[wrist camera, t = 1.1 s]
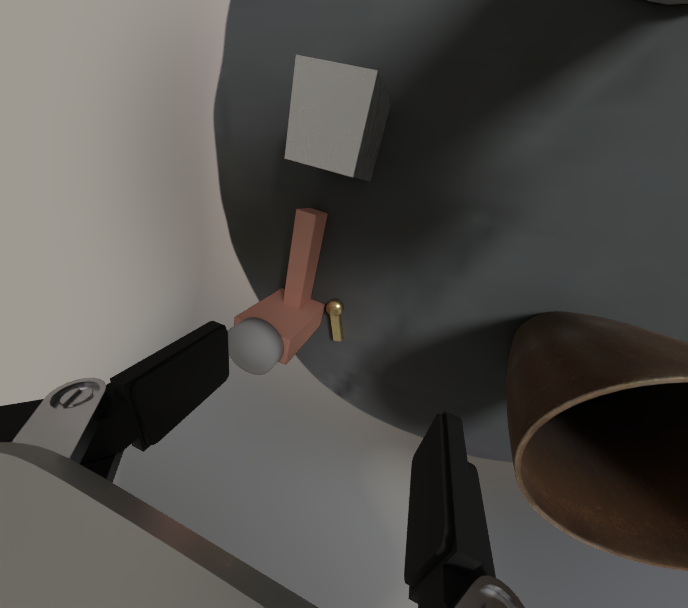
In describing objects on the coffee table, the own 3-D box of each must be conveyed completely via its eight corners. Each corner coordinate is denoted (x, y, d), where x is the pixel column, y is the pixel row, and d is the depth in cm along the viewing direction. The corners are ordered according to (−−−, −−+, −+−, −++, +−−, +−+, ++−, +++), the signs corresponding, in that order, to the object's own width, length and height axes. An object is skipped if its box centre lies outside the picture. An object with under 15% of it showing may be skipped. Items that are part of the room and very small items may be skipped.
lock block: (328, 90, 25) (295, 54, 19) (390, 103, 24) (377, 70, 17) (316, 166, 28) (284, 158, 22) (370, 181, 27) (352, 177, 21)
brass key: (328, 298, 34) (325, 301, 33) (343, 298, 34) (340, 302, 32) (333, 336, 36) (330, 340, 35) (347, 337, 36) (344, 341, 35)
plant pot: (466, 381, 32) (494, 520, 19) (487, 273, 27) (550, 357, 13) (609, 404, 28) (787, 608, 14) (671, 280, 22) (1078, 420, 8)
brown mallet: (293, 202, 30) (221, 205, 20) (345, 218, 29) (298, 230, 19) (278, 314, 38) (220, 359, 27) (318, 331, 37) (274, 384, 26)
